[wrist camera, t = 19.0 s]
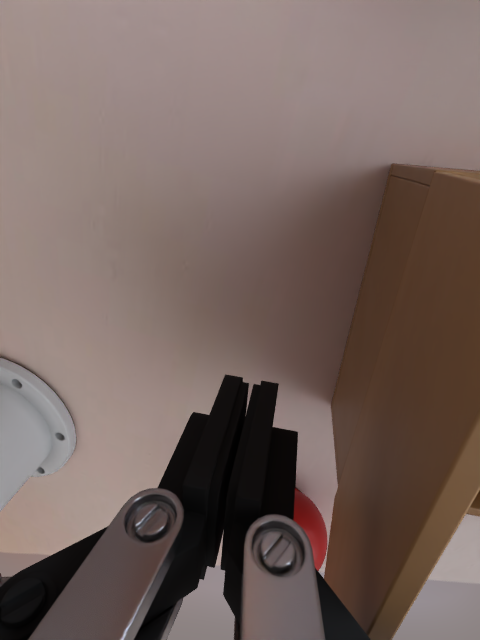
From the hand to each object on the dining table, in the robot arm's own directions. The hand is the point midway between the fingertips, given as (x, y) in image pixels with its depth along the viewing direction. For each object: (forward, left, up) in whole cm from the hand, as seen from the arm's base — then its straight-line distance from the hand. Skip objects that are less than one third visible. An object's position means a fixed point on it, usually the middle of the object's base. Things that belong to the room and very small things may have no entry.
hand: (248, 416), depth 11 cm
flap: (+4, 0, +1) cm, 4 cm away
